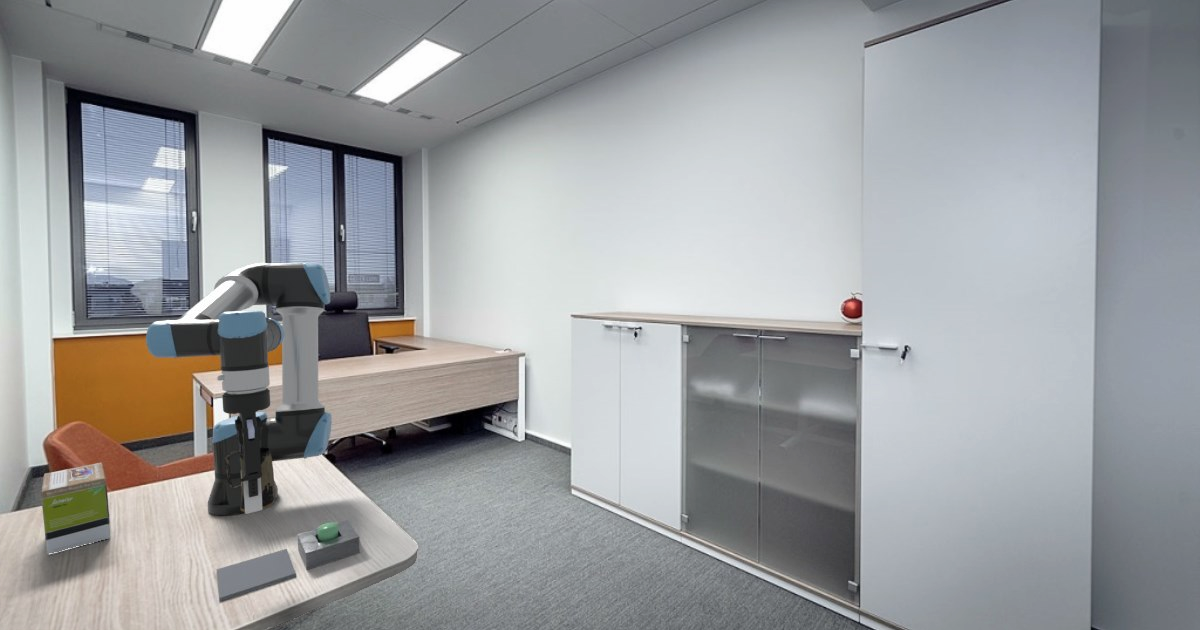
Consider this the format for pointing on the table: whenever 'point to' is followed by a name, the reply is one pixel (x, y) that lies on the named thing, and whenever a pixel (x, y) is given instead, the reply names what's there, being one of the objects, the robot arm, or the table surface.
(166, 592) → the table surface
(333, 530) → the button
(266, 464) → the mug
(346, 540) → the button box
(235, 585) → the mat
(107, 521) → the tea box
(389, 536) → the table surface
